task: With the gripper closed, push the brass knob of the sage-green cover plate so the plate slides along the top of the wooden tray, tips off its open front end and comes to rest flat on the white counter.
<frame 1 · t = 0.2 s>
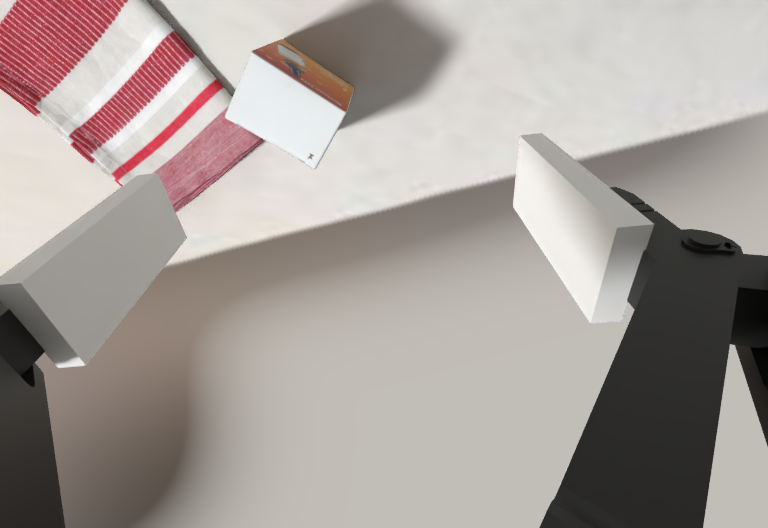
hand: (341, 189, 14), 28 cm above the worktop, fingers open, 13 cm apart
small box: (306, 88, 38), on the worktop
dish towel: (125, 86, 39), on the worktop
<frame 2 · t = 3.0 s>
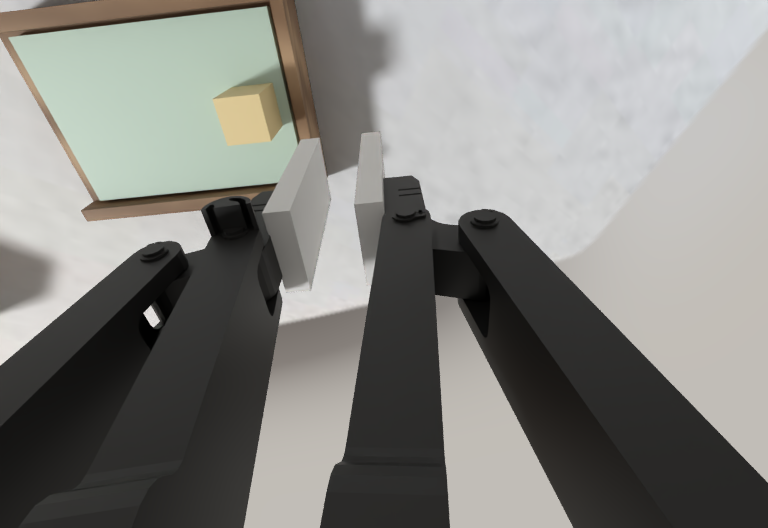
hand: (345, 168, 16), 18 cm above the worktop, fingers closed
wooden tray: (192, 104, 32), on the worktop
cover plate: (177, 113, 30), point 3 cm above the worktop, touching wooden tray
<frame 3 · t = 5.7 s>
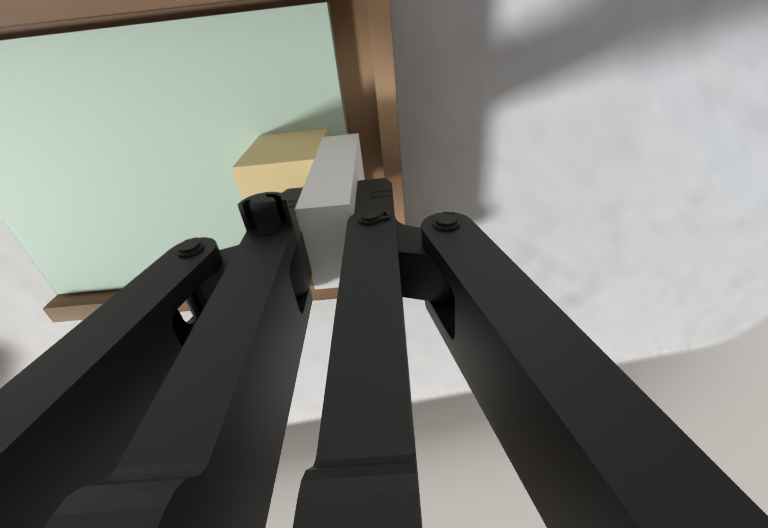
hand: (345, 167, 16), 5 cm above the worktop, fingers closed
wooden tray: (213, 148, 21), on the worktop
cover plate: (171, 172, 19), point 3 cm above the worktop, touching wooden tray
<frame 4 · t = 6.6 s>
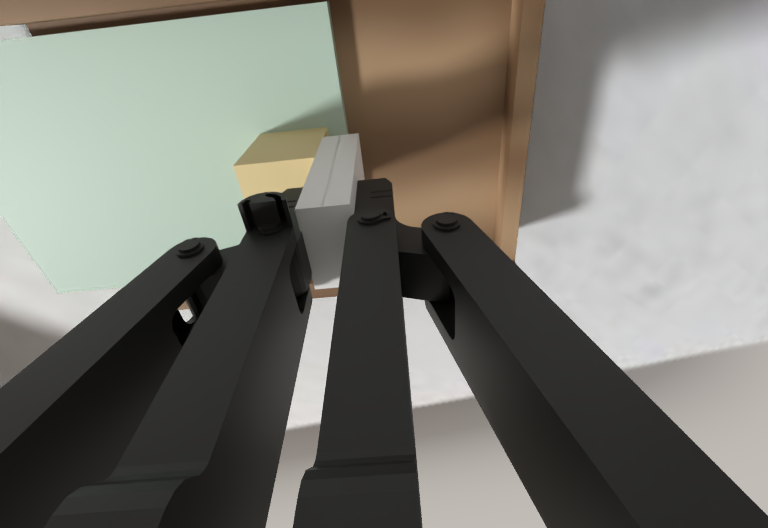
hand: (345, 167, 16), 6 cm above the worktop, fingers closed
wooden tray: (315, 136, 21), on the worktop
cover plate: (171, 171, 19), point 3 cm above the worktop, touching gripper
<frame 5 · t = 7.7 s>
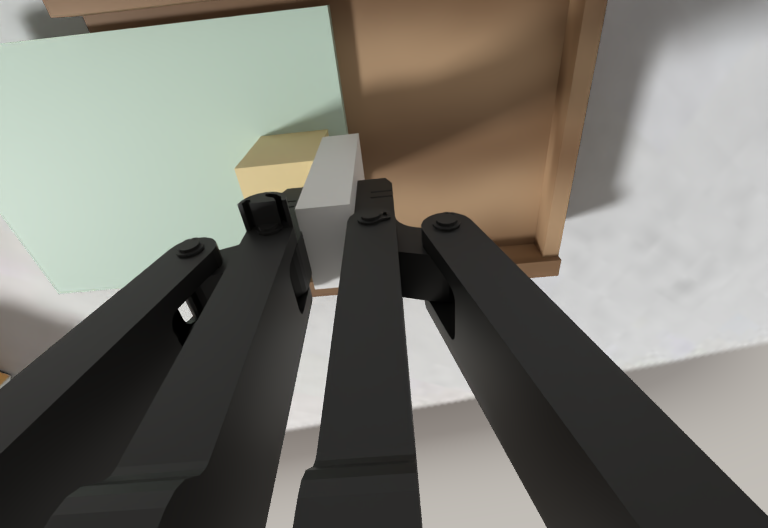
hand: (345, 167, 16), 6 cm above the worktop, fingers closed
wooden tray: (358, 131, 21), on the worktop
cover plate: (173, 172, 19), point 3 cm above the worktop, touching gripper
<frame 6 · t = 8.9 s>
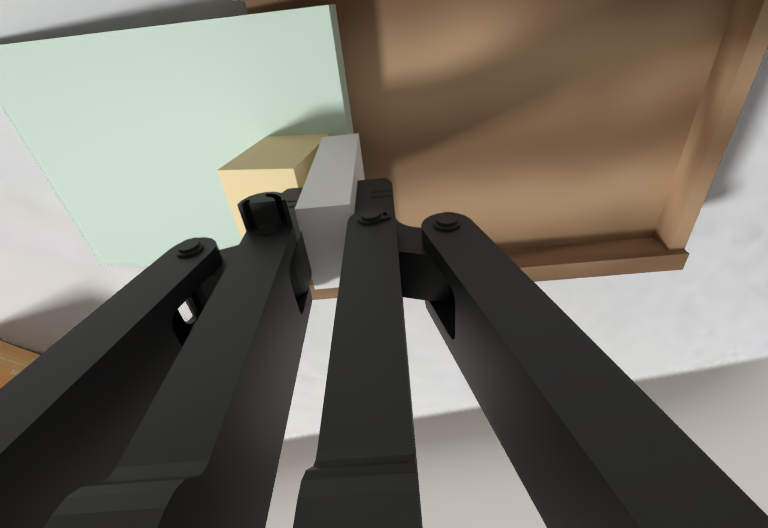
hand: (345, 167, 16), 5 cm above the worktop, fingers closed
wooden tray: (478, 122, 21), on the worktop
small box: (32, 368, 31), on the worktop
cover plate: (192, 164, 20), point 2 cm above the worktop, tilted 13°, touching gripper
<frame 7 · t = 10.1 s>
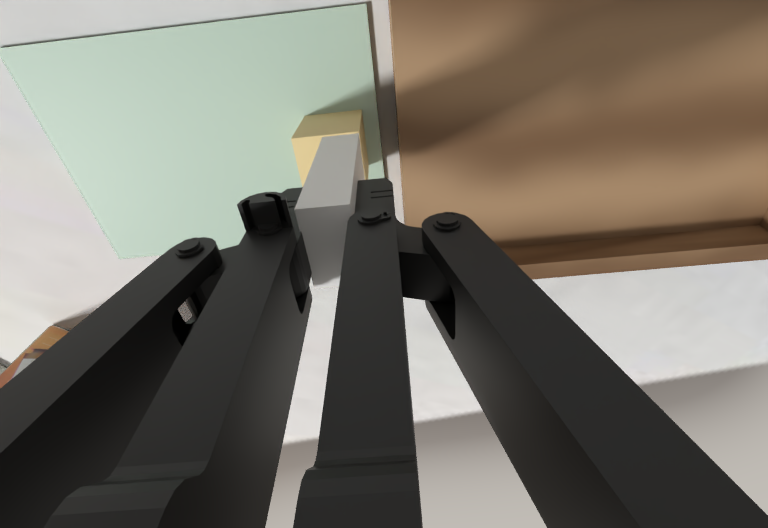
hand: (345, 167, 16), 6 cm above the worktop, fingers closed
wooden tray: (586, 108, 20), on the worktop
small box: (101, 361, 31), on the worktop
cover plate: (225, 149, 22), on the worktop
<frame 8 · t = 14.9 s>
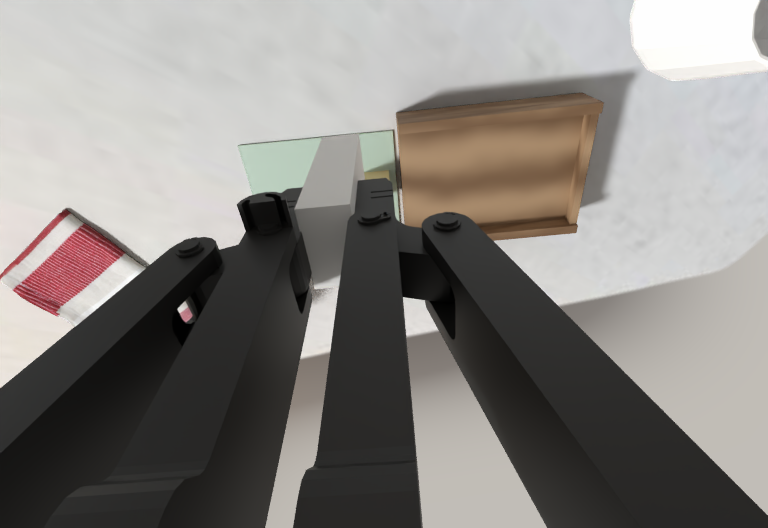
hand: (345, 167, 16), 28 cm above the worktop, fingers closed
wooden tray: (484, 167, 46), on the worktop
cover plate: (324, 185, 48), on the worktop
dish towel: (116, 293, 57), on the worktop
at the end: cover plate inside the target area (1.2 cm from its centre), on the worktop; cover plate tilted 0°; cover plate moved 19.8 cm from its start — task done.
